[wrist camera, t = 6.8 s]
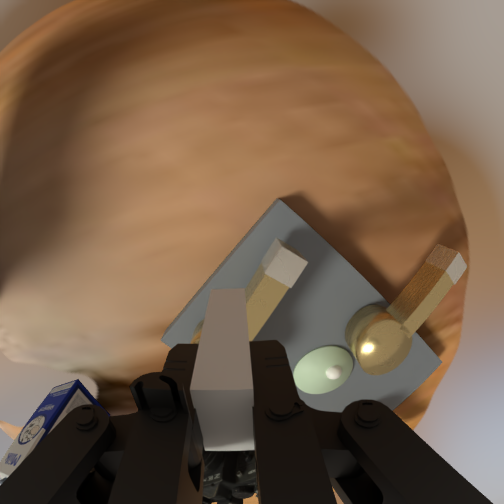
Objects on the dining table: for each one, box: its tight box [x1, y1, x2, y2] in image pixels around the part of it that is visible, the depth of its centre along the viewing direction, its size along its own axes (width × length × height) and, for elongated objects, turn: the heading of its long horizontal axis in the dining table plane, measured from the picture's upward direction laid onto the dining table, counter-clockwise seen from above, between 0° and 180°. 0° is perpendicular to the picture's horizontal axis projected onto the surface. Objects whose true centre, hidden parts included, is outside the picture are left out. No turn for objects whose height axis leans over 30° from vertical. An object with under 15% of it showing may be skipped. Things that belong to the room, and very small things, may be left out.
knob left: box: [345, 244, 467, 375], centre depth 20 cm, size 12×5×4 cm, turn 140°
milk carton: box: [0, 379, 110, 484], centre depth 18 cm, size 7×7×20 cm
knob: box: [190, 237, 308, 344], centre depth 20 cm, size 12×5×4 cm, turn 149°
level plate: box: [161, 199, 442, 412], centre depth 24 cm, size 28×16×3 cm, turn 50°
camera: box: [202, 445, 258, 504], centre depth 24 cm, size 14×11×10 cm
